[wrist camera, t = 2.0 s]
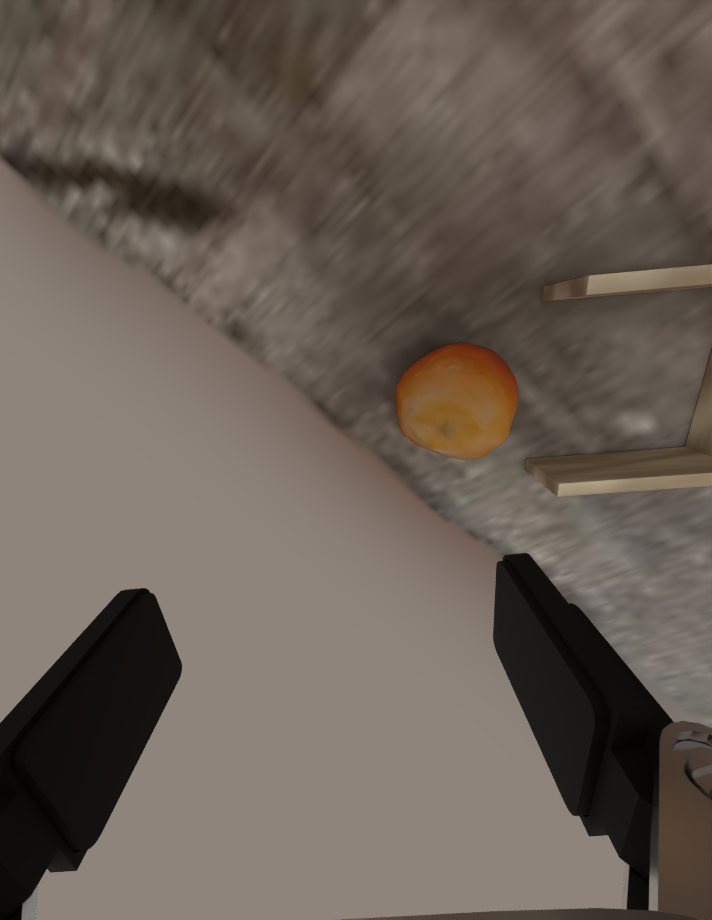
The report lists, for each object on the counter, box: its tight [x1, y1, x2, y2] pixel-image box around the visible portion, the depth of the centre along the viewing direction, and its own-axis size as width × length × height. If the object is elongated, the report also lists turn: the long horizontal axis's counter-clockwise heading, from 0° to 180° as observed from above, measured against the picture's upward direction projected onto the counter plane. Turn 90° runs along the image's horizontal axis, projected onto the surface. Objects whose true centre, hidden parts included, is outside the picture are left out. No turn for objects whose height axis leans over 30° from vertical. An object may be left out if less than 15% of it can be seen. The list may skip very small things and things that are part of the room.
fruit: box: [396, 343, 518, 459], centre depth 24 cm, size 8×8×8 cm
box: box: [525, 264, 712, 497], centre depth 24 cm, size 14×14×5 cm
